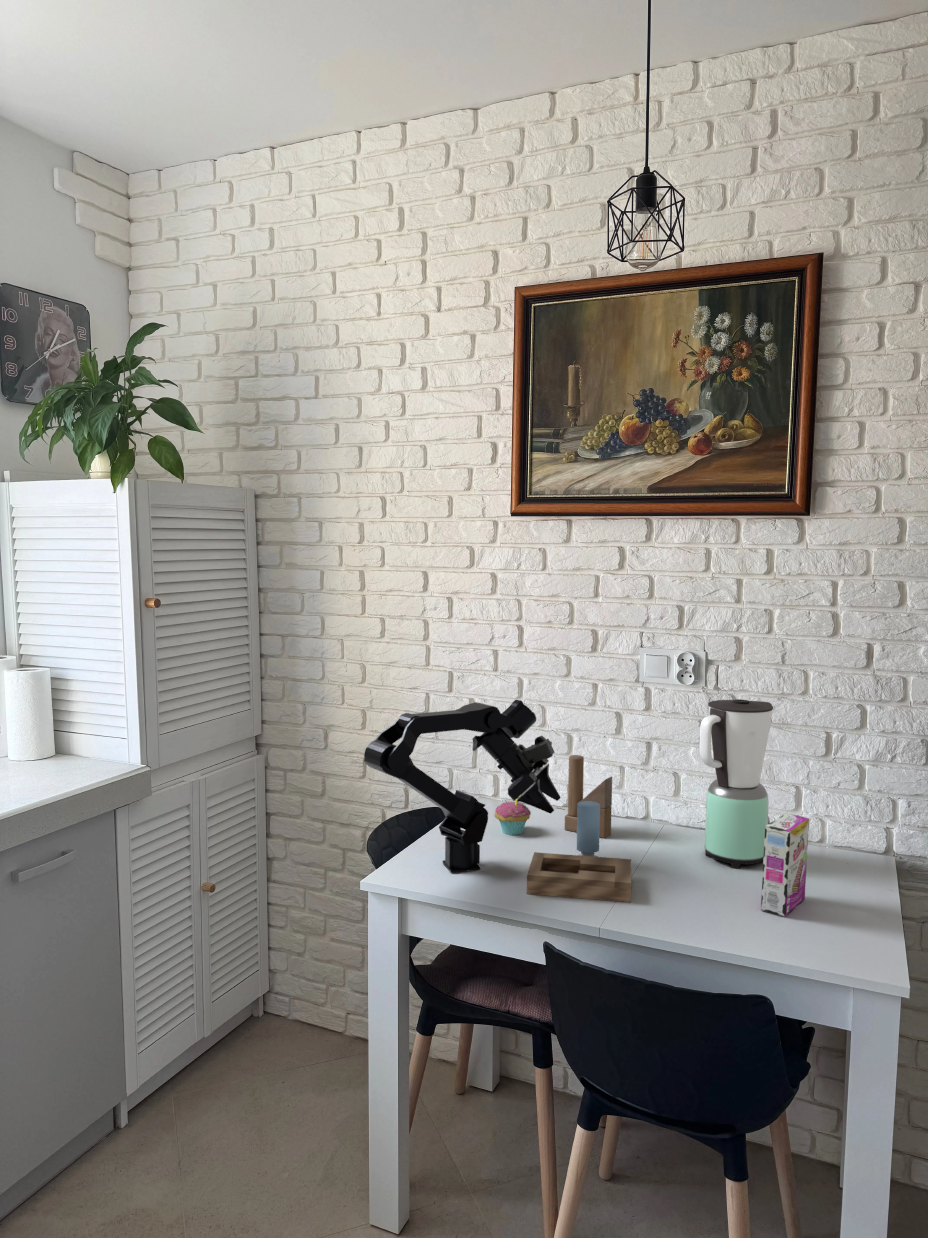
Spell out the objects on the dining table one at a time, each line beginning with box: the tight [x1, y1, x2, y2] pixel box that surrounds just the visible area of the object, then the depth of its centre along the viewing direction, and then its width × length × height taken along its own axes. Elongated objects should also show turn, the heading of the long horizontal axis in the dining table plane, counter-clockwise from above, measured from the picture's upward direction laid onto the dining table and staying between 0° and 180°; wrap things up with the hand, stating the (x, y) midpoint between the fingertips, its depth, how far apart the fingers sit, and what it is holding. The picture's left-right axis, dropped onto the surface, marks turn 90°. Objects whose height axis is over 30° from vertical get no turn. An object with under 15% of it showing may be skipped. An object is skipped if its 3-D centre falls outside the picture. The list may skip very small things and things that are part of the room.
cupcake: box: [494, 796, 532, 836], centre depth 207 cm, size 9×8×12 cm
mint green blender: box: [698, 698, 774, 870], centre depth 189 cm, size 19×13×35 cm
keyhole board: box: [526, 851, 632, 903], centre depth 175 cm, size 20×13×4 cm, turn 79°
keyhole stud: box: [576, 801, 600, 857], centre depth 187 cm, size 6×6×13 cm
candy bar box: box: [760, 813, 810, 918], centre depth 165 cm, size 11×5×16 cm, turn 141°
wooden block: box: [564, 754, 613, 839], centre depth 207 cm, size 4×11×18 cm, turn 55°
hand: (555, 805), depth 186 cm, fingers open, 9 cm apart
